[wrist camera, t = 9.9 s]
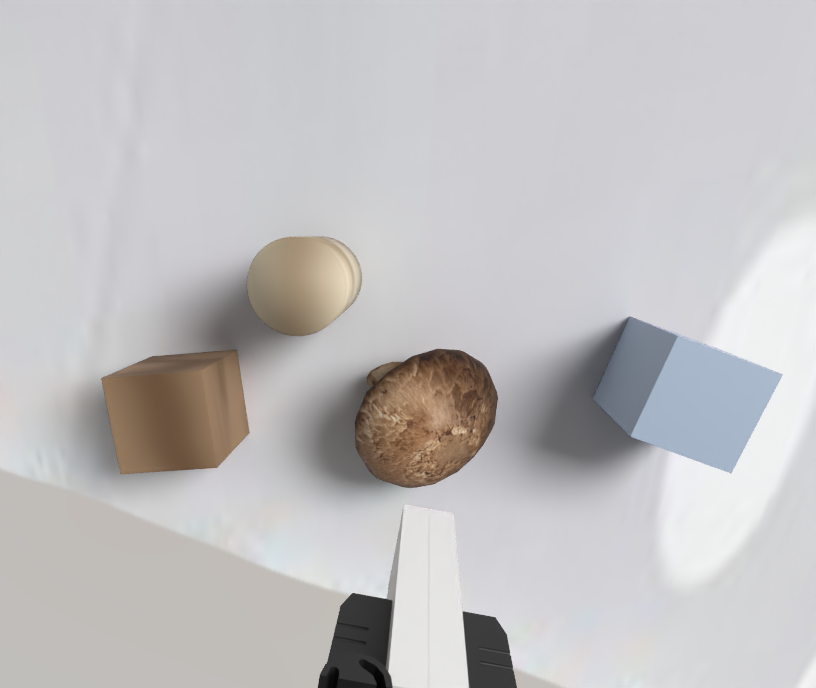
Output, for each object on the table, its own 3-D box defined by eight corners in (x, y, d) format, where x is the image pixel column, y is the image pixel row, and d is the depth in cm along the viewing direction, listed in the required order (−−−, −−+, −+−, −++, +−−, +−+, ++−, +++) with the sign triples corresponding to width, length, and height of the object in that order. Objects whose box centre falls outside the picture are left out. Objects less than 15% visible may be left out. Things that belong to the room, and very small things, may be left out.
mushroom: (310, 359, 28) (360, 433, 23) (442, 293, 30) (513, 349, 25) (351, 458, 33) (399, 535, 28) (462, 395, 35) (524, 458, 30)
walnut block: (167, 438, 33) (120, 473, 28) (152, 356, 32) (101, 378, 27) (249, 432, 32) (216, 467, 27) (237, 349, 31) (201, 370, 26)
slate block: (592, 398, 31) (630, 436, 25) (629, 316, 30) (678, 335, 24) (674, 428, 31) (730, 473, 25) (714, 347, 30) (782, 374, 24)
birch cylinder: (277, 309, 31) (241, 326, 25) (288, 230, 30) (252, 228, 24) (355, 323, 31) (337, 343, 25) (367, 244, 30) (352, 246, 24)
